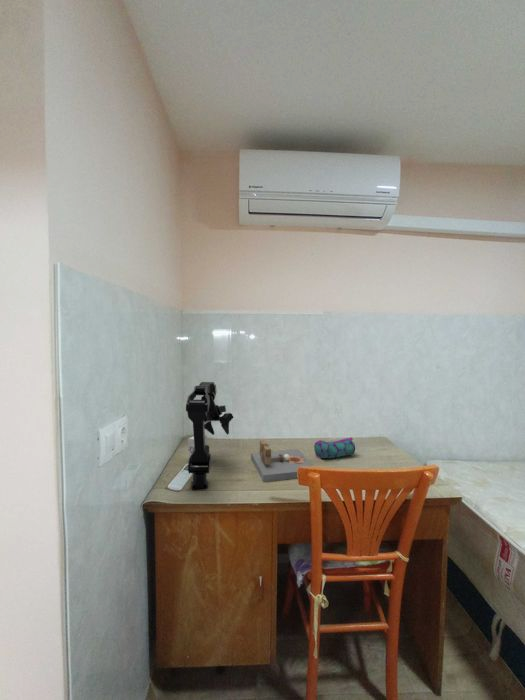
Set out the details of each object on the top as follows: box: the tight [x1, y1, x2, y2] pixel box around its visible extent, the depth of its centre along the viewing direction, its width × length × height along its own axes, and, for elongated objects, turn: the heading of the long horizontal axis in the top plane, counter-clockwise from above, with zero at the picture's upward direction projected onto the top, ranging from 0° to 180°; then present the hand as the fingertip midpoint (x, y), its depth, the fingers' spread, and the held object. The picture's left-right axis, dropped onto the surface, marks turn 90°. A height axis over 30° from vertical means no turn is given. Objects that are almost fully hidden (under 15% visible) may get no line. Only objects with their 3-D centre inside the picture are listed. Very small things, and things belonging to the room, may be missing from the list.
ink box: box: [187, 434, 208, 462], centre depth 141 cm, size 9×5×12 cm, turn 149°
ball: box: [284, 454, 290, 461], centre depth 135 cm, size 3×3×3 cm
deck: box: [250, 448, 315, 483], centre depth 135 cm, size 24×26×3 cm
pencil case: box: [313, 436, 356, 459], centre depth 149 cm, size 21×9×10 cm, turn 109°
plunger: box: [259, 440, 284, 465], centre depth 133 cm, size 11×10×8 cm
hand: (220, 434), depth 137 cm, fingers open, 9 cm apart
